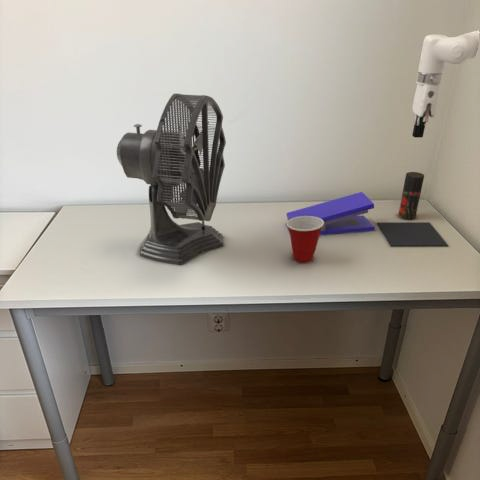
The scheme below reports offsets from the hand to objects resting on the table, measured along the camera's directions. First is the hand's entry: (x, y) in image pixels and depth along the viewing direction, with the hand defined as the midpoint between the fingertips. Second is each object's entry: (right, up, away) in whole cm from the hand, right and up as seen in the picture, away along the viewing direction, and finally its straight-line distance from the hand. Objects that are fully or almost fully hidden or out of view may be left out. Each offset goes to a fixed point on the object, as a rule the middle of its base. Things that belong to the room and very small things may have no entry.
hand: (417, 136), depth 176 cm
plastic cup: (-42, -45, -22) cm, 65 cm away
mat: (-5, -35, -7) cm, 36 cm away
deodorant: (-2, -26, +6) cm, 27 cm away
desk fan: (-81, -41, -17) cm, 93 cm away
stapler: (-31, -32, -2) cm, 44 cm away
